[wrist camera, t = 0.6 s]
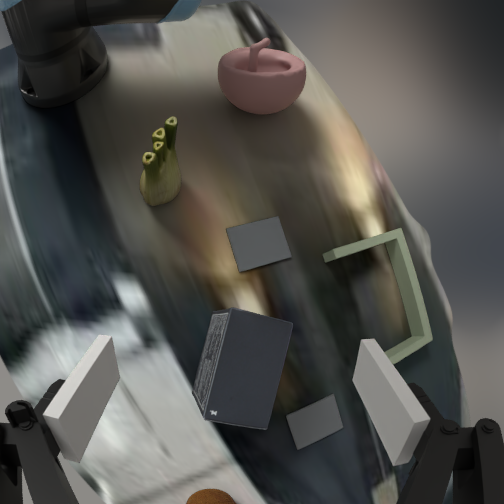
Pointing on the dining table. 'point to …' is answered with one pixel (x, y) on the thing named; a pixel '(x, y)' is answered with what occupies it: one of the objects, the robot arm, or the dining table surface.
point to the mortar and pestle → (261, 78)
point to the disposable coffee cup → (210, 497)
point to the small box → (241, 367)
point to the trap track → (276, 248)
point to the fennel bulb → (161, 167)
